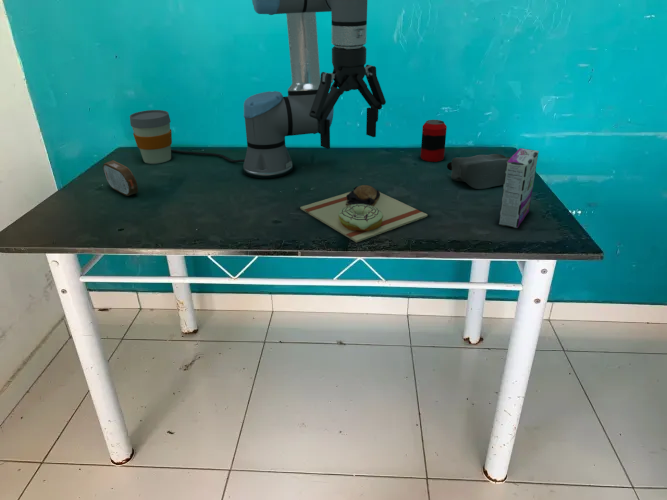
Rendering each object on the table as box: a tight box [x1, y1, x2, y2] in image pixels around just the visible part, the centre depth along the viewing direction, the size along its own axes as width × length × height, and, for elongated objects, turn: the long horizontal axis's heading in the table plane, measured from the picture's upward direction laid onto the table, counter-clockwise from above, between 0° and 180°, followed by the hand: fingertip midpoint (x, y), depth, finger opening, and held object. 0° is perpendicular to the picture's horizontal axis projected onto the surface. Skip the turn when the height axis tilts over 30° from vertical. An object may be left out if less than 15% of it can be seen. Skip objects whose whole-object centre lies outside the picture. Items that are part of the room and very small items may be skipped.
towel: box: [299, 191, 428, 244], centre depth 135 cm, size 24×23×1 cm
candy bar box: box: [498, 148, 540, 229], centre depth 127 cm, size 11×5×16 cm, turn 148°
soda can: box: [420, 119, 448, 163], centre depth 169 cm, size 8×8×12 cm
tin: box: [102, 159, 139, 197], centre depth 149 cm, size 15×3×8 cm, turn 47°
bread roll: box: [346, 184, 381, 206], centre depth 141 cm, size 11×8×4 cm
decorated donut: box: [339, 204, 383, 231], centre depth 127 cm, size 10×11×4 cm
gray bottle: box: [446, 153, 511, 190], centre depth 151 cm, size 18×11×8 cm, turn 104°
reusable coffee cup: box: [129, 109, 173, 165], centre depth 172 cm, size 12×13×15 cm
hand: (348, 141), depth 123 cm, fingers open, 13 cm apart
